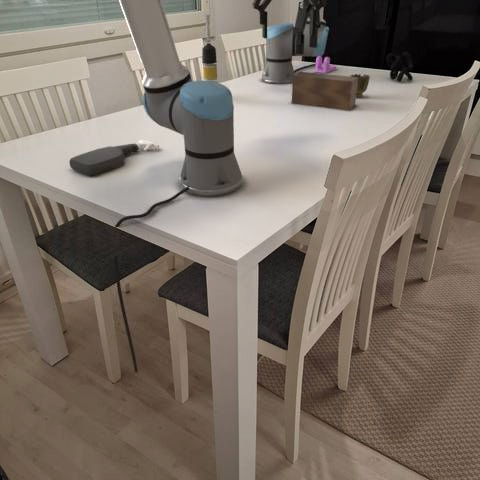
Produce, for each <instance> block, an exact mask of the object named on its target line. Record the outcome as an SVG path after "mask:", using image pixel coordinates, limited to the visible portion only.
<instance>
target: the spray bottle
mask: <svg viewBox="0 0 480 480" xmlns="http://www.w3.org/2000/svg"><path fill="white" fill-rule="evenodd" d="M159 148H160V145H159V144H158V143H155V142H151V141H148V140H144V139H139V140H138V141H137V142H135V143H129V144H128V143H126V144H122V145H113V146H105V147H100V148H97V149H94V150H90V151H87V152H83V153H81V154H78V155H74V156H73V157H70V159H69V161H68V162H69V167H70V168H71V169H72V170H74V171H75V172H78V173H81V174H83V175H85V176H89V177H90V176H91V177H92V176H95V175H99V174H102V173H105V172H107V171H110V170H113V169H116V168H118V167H120V166H122V165H123V164H124V163H125V158H126V156H127V155H131V154H133V153H138V151H140V150H143V151H144V152H146V151H147V150H149V149H159Z"/></svg>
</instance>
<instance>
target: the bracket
mask: <svg viewBox="0 0 480 480" xmlns="http://www.w3.org/2000/svg"><path fill="white" fill-rule="evenodd" d="M322 61H324V63H322ZM315 63H316V65H315V66H314V67H315V68H314V73H319V74H328V73H330V72H332V71H335V70H336V69H337V65H335V64H331V58H330V57H329V56H325V57H324V59H323V56H316V59H315Z"/></svg>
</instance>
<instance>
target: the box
mask: <svg viewBox="0 0 480 480" xmlns="http://www.w3.org/2000/svg"><path fill="white" fill-rule="evenodd" d="M350 76H351V75H350ZM350 76H349V75H340V74H339V75H338V74H328V73H320V72H308V71H307V72H306V71H298V72H296V73H295V75H293V82H291V83H292V84H291V85H292V86H291V104H293V105H303V106H309V107H317V108H325V109H333V110H341V111H350V110H351V109H353V108H354V107H356V103H357V102H356V100H357V97H356V93H357V85H358V77H350Z"/></svg>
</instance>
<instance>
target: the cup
mask: <svg viewBox="0 0 480 480" xmlns="http://www.w3.org/2000/svg"><path fill="white" fill-rule="evenodd" d="M350 77H358V85H357V93H356V98H362V97H363V96H364V95H363V93H365V92H366V91H367V90H368V86H369V83H370V79H371V76H370V75H369V74H366V73H365V74H363V75H361V74H360V73H359V74H357V73H355V74H350Z"/></svg>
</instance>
